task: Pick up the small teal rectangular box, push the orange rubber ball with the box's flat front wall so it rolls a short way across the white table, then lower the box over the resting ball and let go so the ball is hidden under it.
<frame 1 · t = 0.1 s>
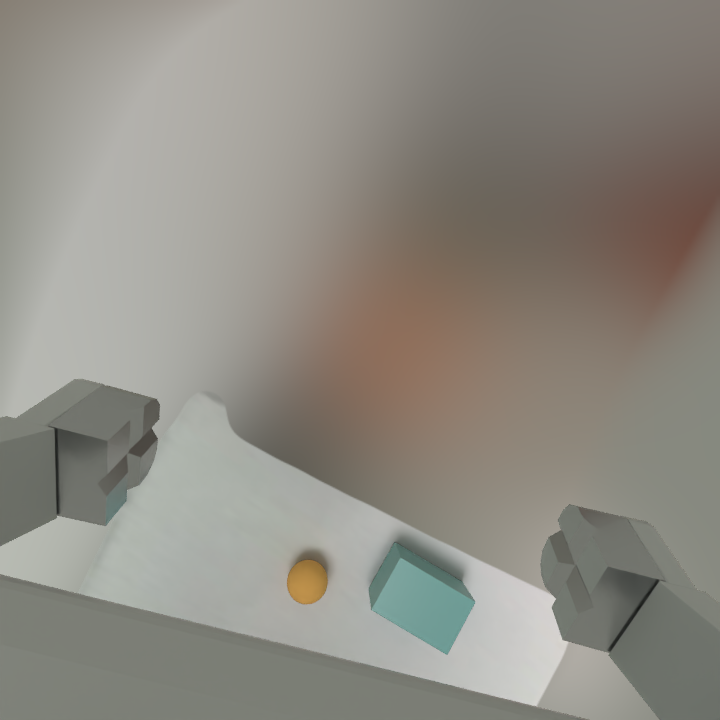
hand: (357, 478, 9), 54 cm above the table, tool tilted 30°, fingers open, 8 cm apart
teal rectangular box: (415, 585, 62), on the table
ball: (307, 581, 59), on the table
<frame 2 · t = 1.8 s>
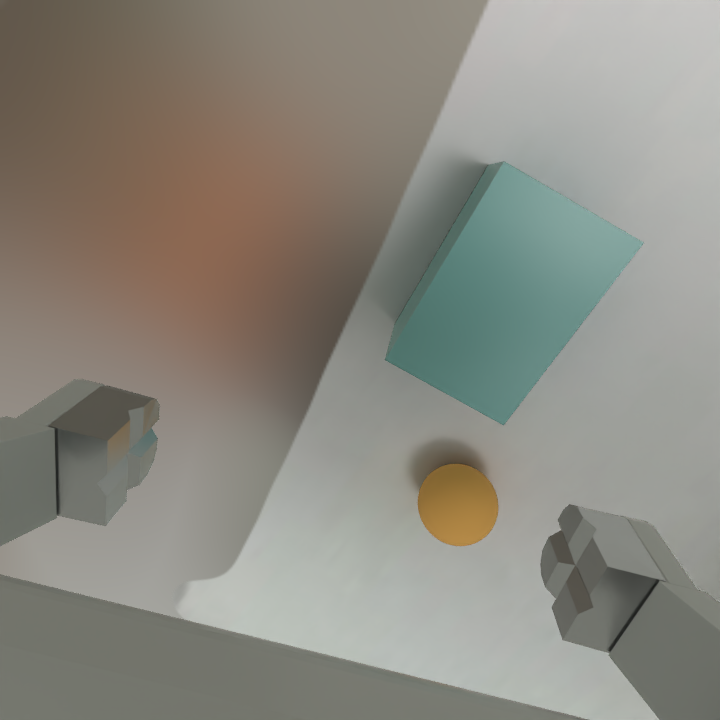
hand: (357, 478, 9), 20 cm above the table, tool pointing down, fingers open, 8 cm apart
teal rectangular box: (489, 279, 27), on the table
ball: (457, 503, 30), on the table
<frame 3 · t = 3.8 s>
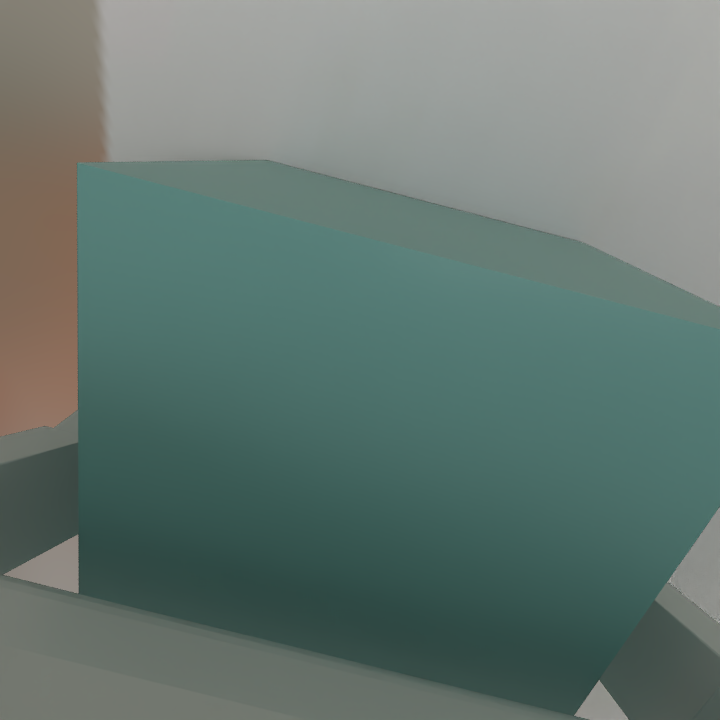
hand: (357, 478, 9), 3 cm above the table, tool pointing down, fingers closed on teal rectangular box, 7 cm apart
teal rectangular box: (367, 409, 12), on the table, touching gripper
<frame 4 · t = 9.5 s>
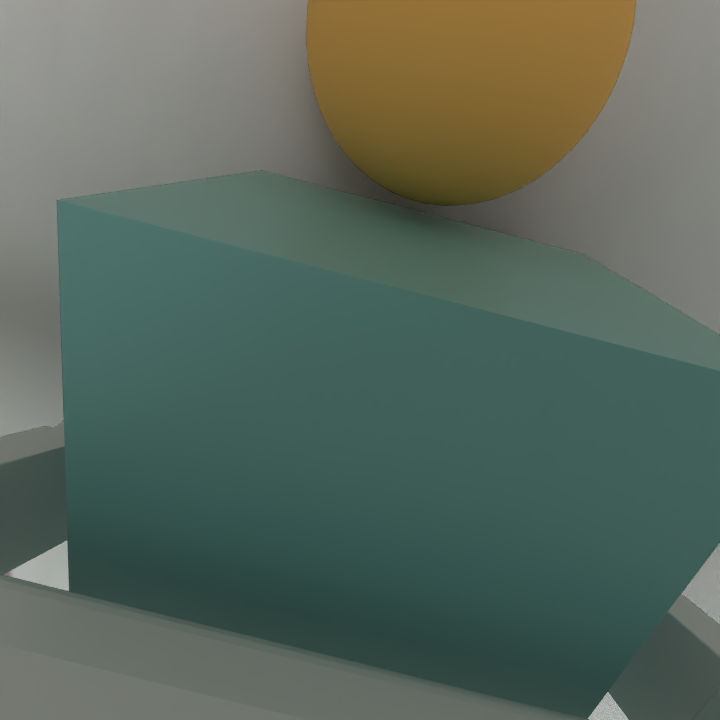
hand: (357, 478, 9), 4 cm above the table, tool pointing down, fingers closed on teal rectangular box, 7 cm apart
teal rectangular box: (364, 419, 12), point 1 cm above the table, touching gripper
ball: (460, 44, 8), on the table
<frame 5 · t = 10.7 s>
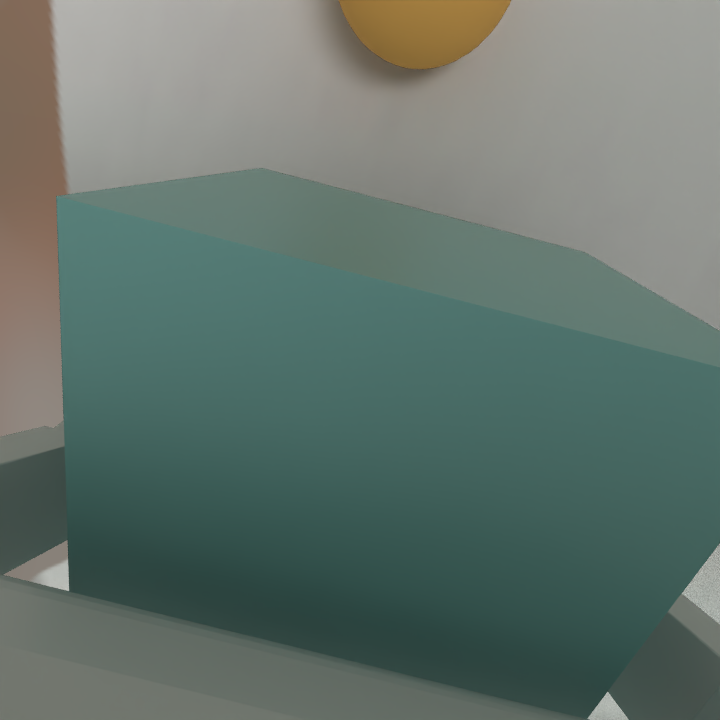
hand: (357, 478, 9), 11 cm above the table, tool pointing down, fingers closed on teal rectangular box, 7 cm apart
teal rectangular box: (365, 418, 12), point 8 cm above the table, touching gripper
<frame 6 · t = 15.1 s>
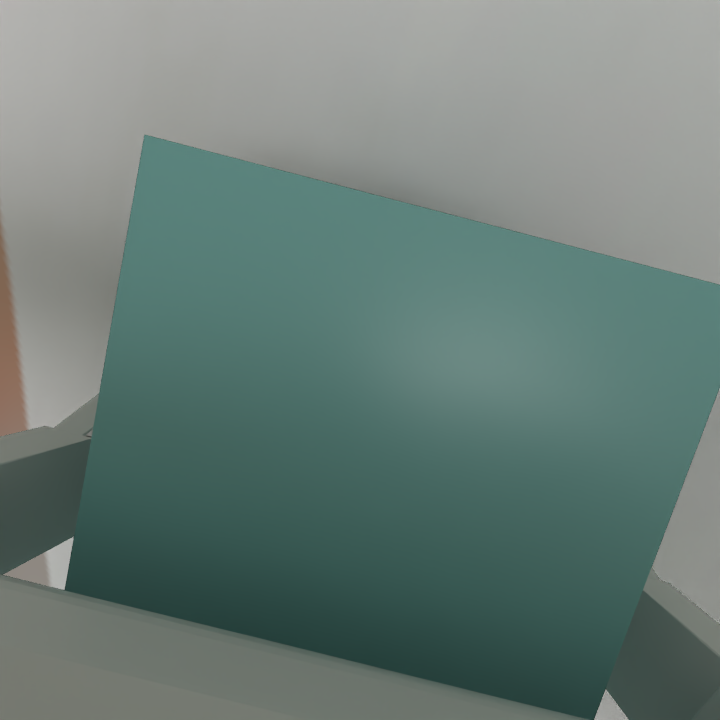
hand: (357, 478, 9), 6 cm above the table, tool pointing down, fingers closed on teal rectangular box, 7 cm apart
teal rectangular box: (355, 455, 12), point 3 cm above the table, tilted 15°, touching gripper
when the fingers open (3 cm above the table, at t = 16.1 s): teal rectangular box drops 2 cm, on the table.
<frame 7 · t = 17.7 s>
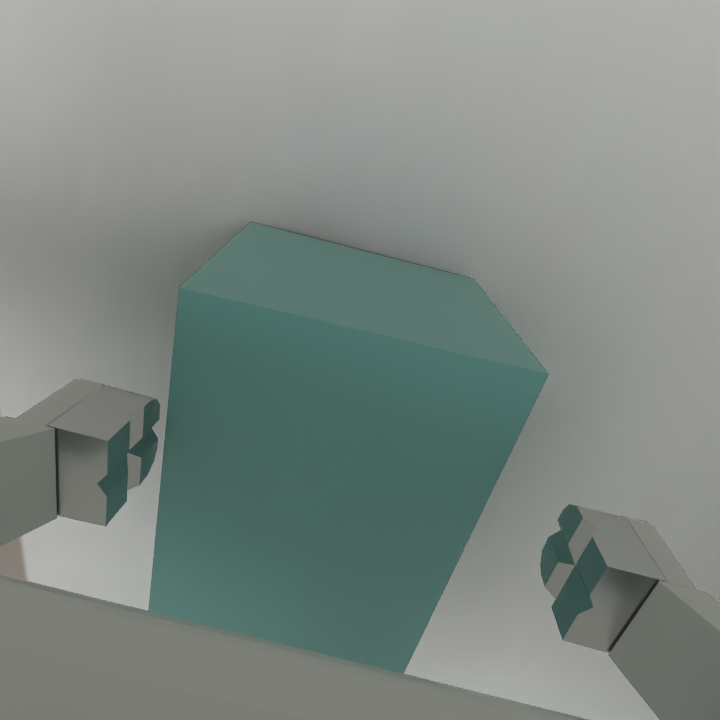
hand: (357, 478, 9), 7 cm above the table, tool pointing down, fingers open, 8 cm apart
teal rectangular box: (327, 396, 16), on the table
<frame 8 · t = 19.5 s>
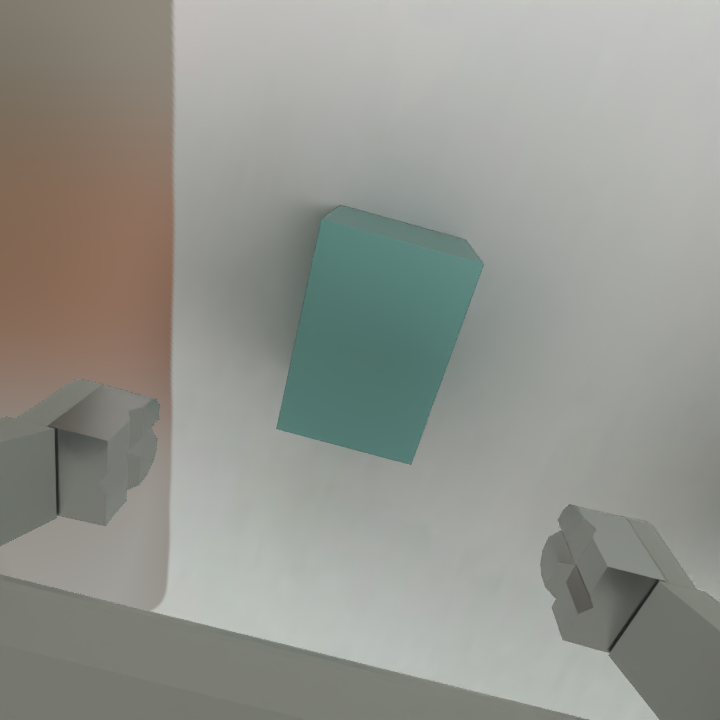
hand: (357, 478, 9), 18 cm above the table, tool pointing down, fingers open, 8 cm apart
teal rectangular box: (377, 312, 27), on the table
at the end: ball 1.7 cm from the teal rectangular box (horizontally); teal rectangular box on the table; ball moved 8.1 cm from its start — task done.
